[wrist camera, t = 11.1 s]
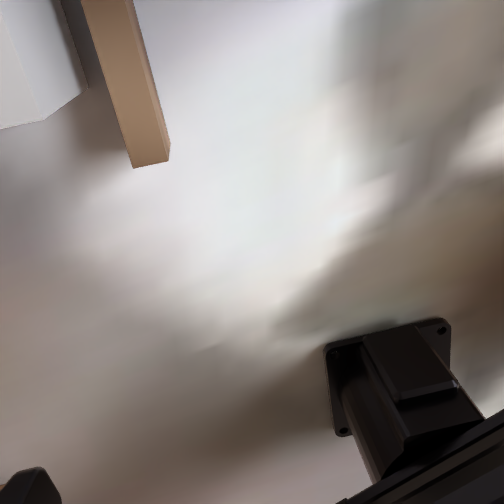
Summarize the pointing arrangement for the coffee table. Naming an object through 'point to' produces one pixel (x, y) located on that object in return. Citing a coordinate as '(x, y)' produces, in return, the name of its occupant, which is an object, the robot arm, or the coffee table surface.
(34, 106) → the light grey block
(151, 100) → the lane rack
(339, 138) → the coffee table surface
